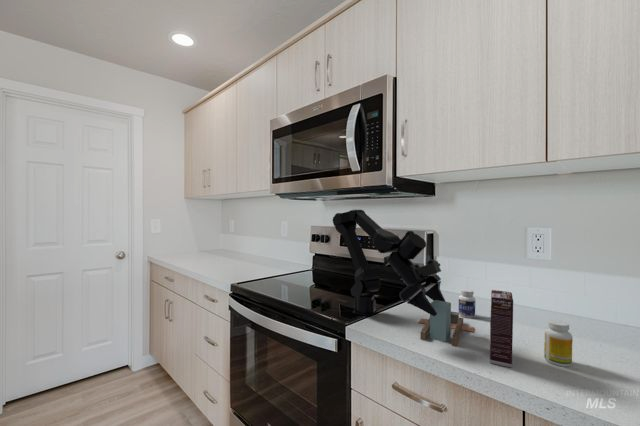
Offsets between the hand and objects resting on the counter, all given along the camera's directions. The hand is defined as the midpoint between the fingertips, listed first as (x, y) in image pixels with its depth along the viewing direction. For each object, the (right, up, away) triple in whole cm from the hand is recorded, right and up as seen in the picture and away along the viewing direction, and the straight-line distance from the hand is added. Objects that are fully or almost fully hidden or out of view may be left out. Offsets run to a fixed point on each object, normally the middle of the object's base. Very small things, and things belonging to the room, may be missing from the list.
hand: (441, 311), depth 90 cm
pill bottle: (+16, -8, +20) cm, 27 cm away
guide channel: (+3, -8, +6) cm, 10 cm away
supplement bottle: (+23, -8, -14) cm, 28 cm away
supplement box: (+10, -8, -12) cm, 18 cm away
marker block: (0, -8, 0) cm, 8 cm away
